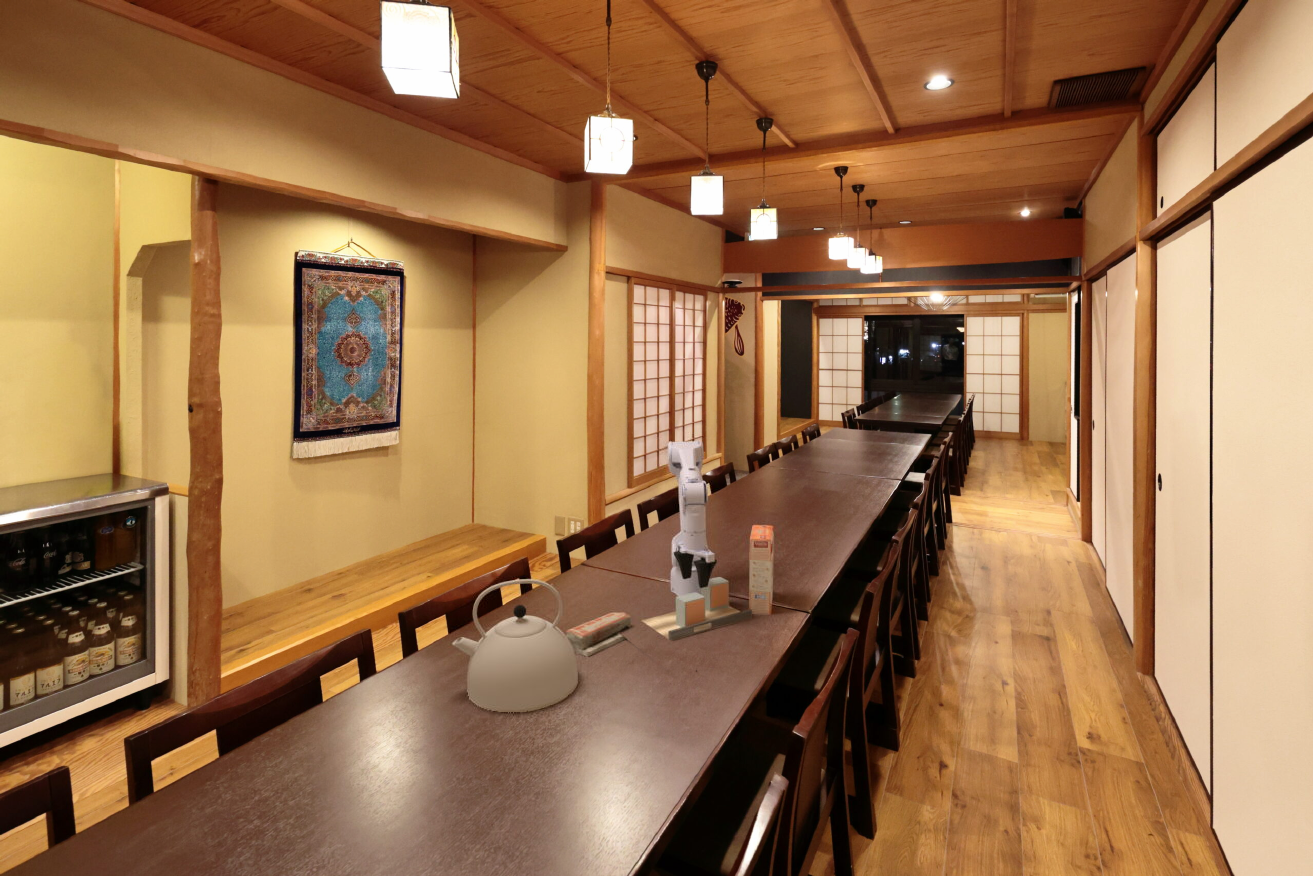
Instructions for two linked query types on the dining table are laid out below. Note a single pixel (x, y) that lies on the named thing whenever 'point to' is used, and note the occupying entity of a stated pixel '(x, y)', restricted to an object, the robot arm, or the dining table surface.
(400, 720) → the dining table surface
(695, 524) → the robot arm
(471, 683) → the kettle
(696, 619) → the turn carton
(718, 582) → the faced carton
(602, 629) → the packaged product
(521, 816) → the dining table surface
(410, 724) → the dining table surface
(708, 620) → the shelf board
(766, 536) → the cracker box
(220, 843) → the dining table surface
